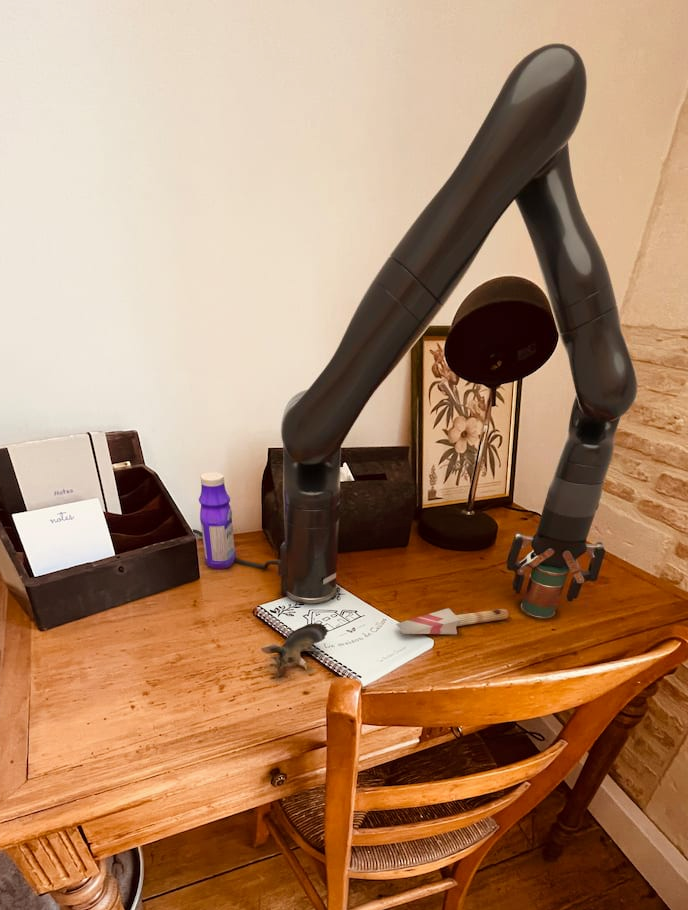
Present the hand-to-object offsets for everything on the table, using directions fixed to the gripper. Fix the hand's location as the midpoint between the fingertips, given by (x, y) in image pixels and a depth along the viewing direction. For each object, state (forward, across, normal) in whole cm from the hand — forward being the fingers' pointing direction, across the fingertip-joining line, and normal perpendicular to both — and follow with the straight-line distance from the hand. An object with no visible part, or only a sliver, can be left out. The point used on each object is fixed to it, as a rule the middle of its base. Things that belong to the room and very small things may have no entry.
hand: (542, 595), depth 91 cm
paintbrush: (+3, +14, +10) cm, 18 cm away
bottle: (+3, +60, +1) cm, 60 cm away
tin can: (+3, 0, 0) cm, 3 cm away
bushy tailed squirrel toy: (+3, +36, +27) cm, 45 cm away
